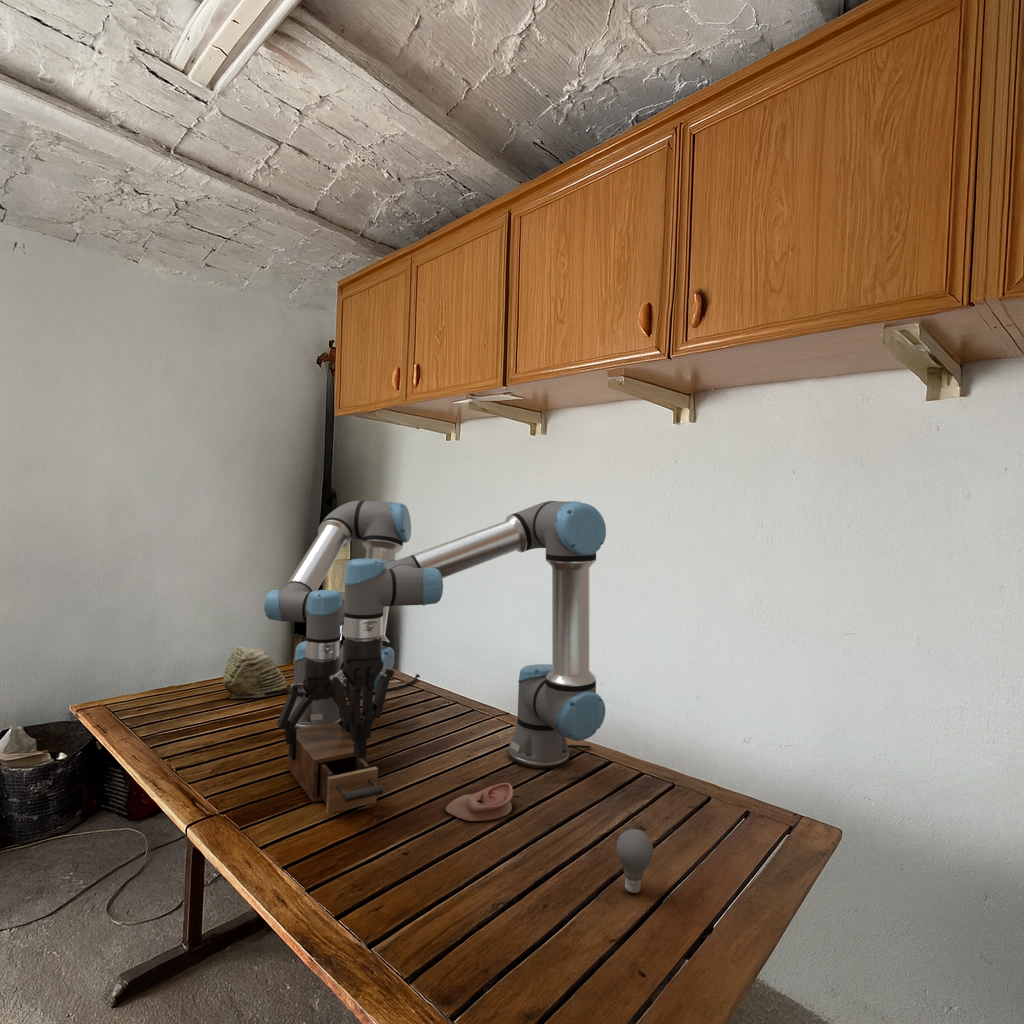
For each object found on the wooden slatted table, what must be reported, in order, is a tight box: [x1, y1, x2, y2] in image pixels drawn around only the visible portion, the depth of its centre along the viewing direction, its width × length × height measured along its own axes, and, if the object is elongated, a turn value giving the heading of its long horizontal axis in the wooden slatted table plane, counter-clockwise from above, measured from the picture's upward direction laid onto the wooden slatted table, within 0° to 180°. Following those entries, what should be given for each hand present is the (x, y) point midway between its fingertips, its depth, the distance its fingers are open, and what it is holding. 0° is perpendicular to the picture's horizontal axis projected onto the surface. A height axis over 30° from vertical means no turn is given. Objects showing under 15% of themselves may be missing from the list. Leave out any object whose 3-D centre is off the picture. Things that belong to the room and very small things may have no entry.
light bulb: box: [615, 828, 654, 894], centre depth 106 cm, size 6×6×10 cm
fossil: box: [222, 646, 288, 699], centre depth 198 cm, size 9×18×15 cm, turn 132°
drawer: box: [317, 756, 384, 815], centre depth 132 cm, size 24×10×7 cm, turn 34°
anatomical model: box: [444, 782, 514, 822], centre depth 131 cm, size 13×4×12 cm
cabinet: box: [287, 722, 367, 803], centre depth 142 cm, size 19×11×9 cm, turn 34°
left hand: (318, 752), depth 146 cm, fingers closed on cabinet, 11 cm apart
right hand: (359, 755), depth 126 cm, fingers closed
